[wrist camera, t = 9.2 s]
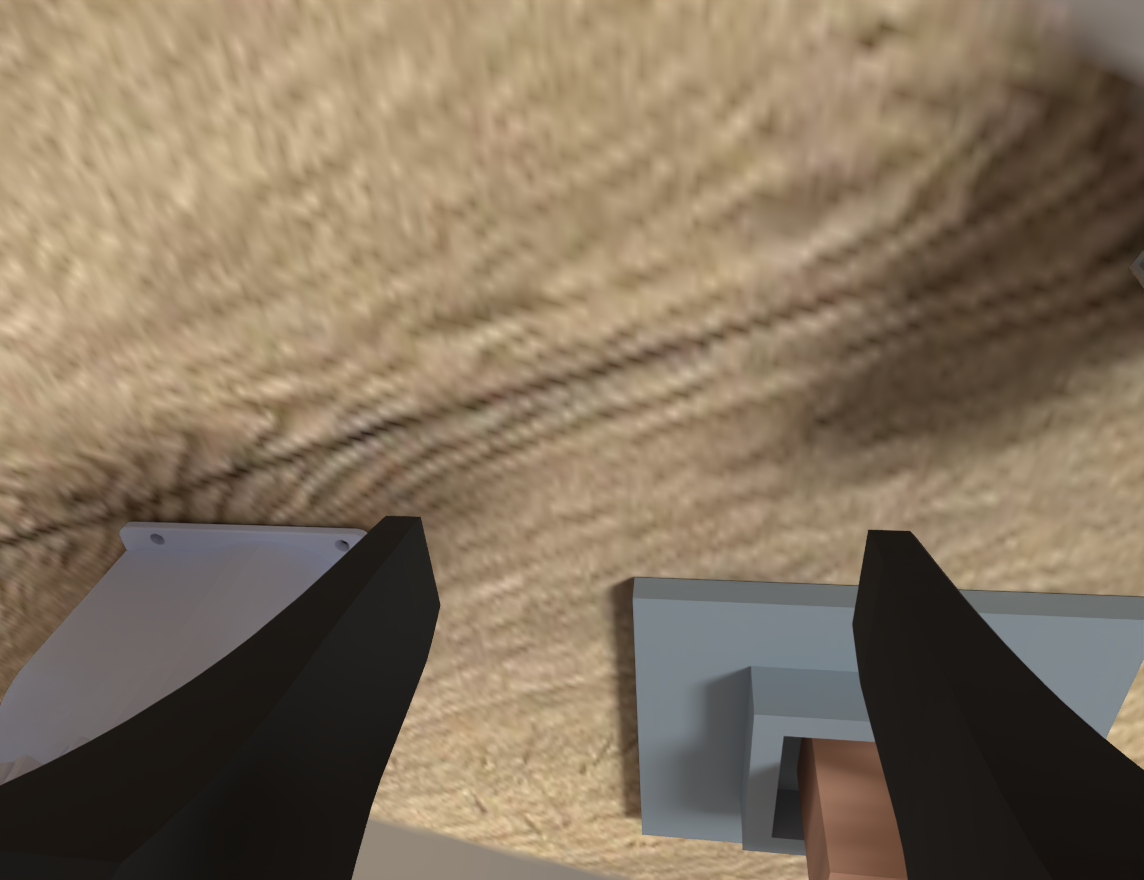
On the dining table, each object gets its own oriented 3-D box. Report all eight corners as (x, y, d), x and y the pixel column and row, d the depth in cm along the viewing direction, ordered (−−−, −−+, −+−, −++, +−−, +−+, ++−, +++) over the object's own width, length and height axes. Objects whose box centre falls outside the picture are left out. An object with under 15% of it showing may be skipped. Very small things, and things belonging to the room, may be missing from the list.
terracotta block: (796, 771, 30) (815, 939, 25) (807, 702, 28) (830, 872, 23) (906, 779, 30) (948, 953, 25) (926, 710, 27) (976, 885, 23)
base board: (643, 812, 35) (639, 881, 32) (634, 577, 27) (628, 644, 25) (1035, 845, 32) (1062, 922, 30) (1146, 597, 25) (1196, 673, 22)
